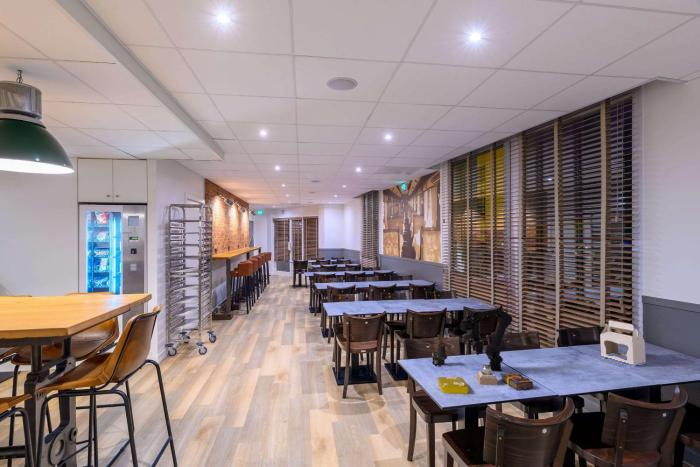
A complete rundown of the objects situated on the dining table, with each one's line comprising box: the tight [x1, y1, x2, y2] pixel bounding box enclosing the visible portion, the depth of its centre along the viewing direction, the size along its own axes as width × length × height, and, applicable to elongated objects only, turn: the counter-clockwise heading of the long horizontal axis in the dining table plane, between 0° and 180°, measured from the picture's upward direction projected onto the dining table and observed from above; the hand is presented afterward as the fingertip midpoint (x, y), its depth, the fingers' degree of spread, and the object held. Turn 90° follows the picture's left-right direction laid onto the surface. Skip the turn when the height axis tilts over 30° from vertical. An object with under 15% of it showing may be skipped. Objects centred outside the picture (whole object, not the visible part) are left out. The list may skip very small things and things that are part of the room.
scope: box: [431, 343, 448, 367], centre depth 240 cm, size 8×14×10 cm
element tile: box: [437, 376, 469, 395], centre depth 198 cm, size 15×15×5 cm
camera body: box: [476, 370, 498, 386], centre depth 207 cm, size 10×8×6 cm
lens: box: [481, 364, 492, 375], centre depth 207 cm, size 5×5×6 cm
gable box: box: [599, 320, 646, 365], centre depth 245 cm, size 22×13×28 cm, turn 20°
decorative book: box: [499, 372, 534, 392], centre depth 203 cm, size 11×16×5 cm
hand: (475, 352), depth 225 cm, fingers open, 9 cm apart
